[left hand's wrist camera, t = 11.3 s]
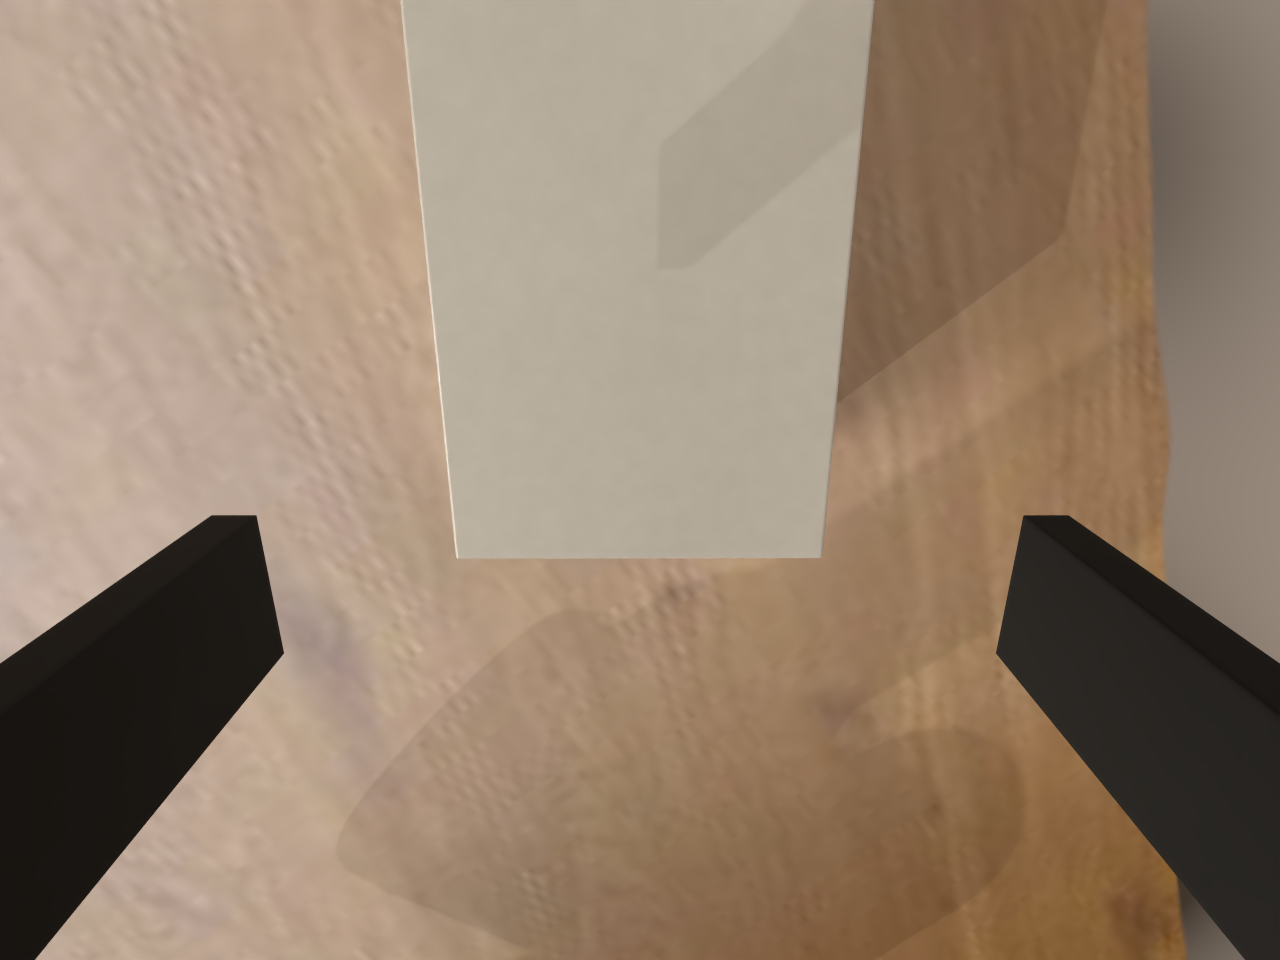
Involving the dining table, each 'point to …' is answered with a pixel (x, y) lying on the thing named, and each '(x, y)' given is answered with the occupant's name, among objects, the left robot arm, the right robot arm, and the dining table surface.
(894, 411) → the dining table surface
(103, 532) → the dining table surface
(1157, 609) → the left robot arm
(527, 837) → the dining table surface
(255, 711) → the dining table surface
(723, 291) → the cabinet
